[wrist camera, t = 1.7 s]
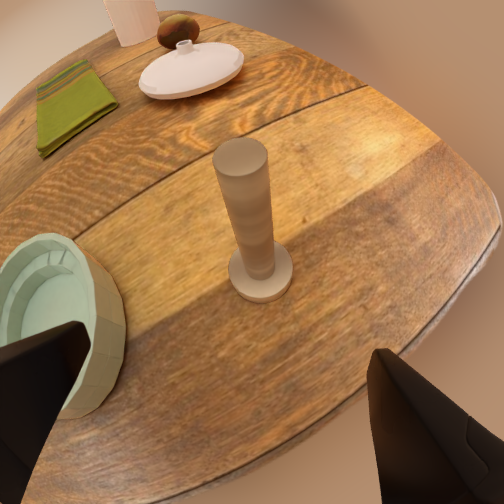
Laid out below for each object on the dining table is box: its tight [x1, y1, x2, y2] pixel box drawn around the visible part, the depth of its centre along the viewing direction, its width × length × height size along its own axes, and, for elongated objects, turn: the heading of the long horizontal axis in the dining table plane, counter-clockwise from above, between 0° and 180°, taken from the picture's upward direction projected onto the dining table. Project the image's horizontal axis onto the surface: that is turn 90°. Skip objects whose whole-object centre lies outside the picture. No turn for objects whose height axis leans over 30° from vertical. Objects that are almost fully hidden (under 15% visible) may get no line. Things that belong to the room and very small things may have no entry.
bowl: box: [0, 233, 126, 419], centre depth 19 cm, size 16×16×5 cm
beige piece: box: [213, 137, 293, 303], centre depth 17 cm, size 5×5×13 cm
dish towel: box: [36, 59, 118, 158], centre depth 40 cm, size 15×36×3 cm, turn 37°
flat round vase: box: [139, 40, 244, 99], centre depth 33 cm, size 16×16×7 cm
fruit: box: [157, 14, 200, 49], centre depth 40 cm, size 8×8×8 cm
